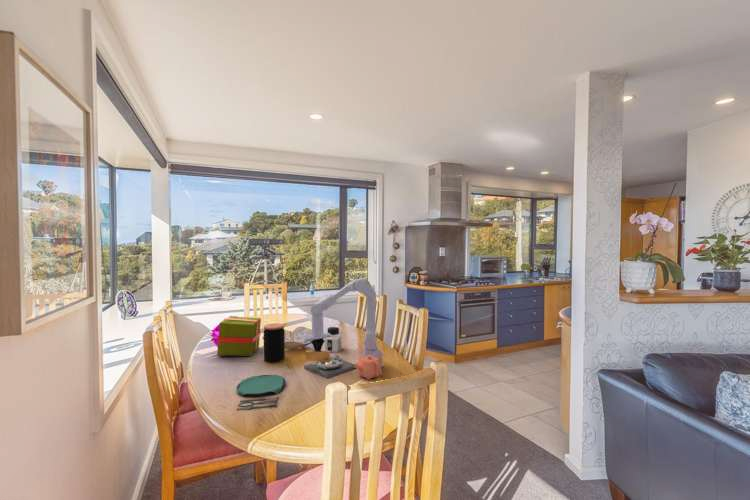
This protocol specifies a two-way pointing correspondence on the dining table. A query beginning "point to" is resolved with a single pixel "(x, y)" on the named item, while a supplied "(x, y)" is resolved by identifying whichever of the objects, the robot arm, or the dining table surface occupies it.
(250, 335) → the gift box
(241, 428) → the dining table surface
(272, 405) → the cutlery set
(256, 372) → the dining table surface
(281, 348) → the coffee jar
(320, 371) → the base plate
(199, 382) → the dining table surface
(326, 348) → the container
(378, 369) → the pumpkin
